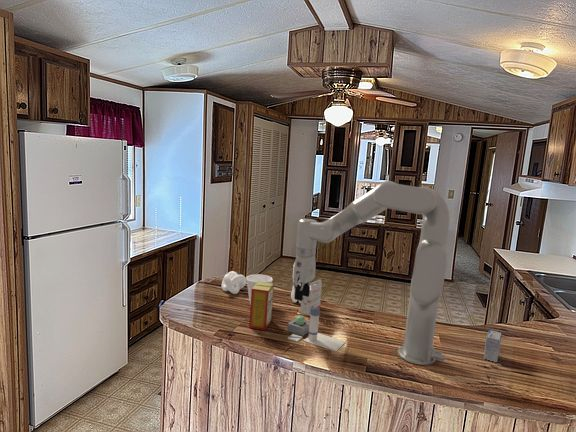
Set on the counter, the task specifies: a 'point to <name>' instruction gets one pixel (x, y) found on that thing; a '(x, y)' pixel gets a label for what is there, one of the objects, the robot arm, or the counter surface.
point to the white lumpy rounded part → (233, 282)
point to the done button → (300, 320)
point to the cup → (254, 279)
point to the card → (295, 337)
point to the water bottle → (294, 289)
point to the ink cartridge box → (312, 298)
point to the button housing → (298, 327)
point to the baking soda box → (261, 305)
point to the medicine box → (492, 346)
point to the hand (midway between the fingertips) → (301, 297)
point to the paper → (327, 342)
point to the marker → (313, 324)
